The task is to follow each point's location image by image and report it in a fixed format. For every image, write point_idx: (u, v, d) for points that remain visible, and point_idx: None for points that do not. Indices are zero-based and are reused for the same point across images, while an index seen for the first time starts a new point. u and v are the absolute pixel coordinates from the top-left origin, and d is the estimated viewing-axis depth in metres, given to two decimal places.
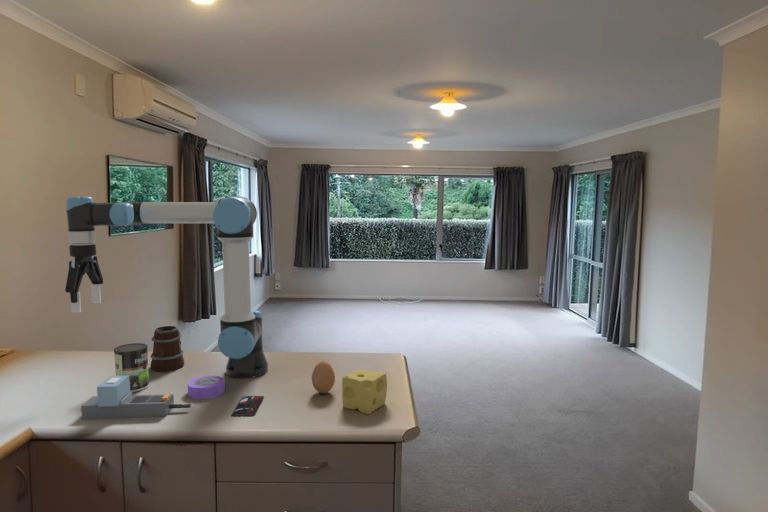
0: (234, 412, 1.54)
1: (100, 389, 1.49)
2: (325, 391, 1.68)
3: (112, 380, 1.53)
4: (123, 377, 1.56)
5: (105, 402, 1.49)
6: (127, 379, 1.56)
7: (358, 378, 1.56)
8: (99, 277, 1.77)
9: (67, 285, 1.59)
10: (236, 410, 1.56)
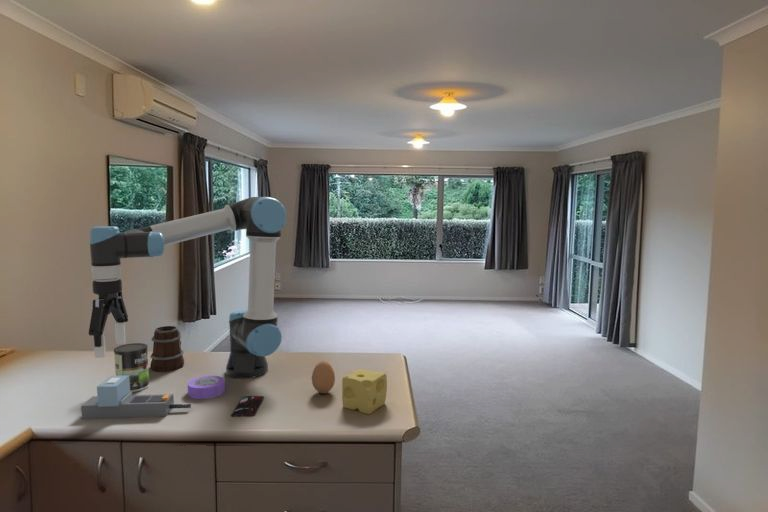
0: (234, 412, 1.54)
1: (100, 389, 1.49)
2: (325, 391, 1.68)
3: (112, 380, 1.53)
4: (123, 377, 1.56)
5: (105, 402, 1.49)
6: (127, 379, 1.56)
7: (358, 378, 1.56)
8: (124, 314, 1.59)
9: (91, 328, 1.41)
10: (236, 410, 1.56)
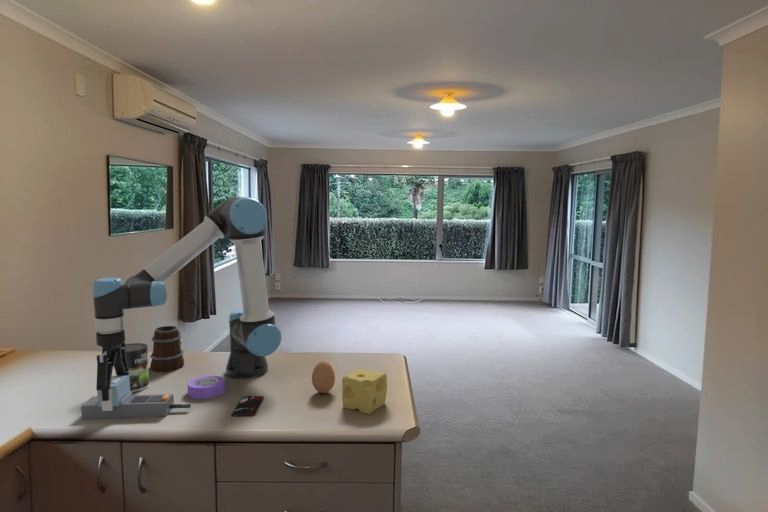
0: (234, 412, 1.54)
1: None
2: (325, 391, 1.68)
3: (112, 380, 1.53)
4: (123, 377, 1.56)
5: None
6: (127, 379, 1.56)
7: (358, 378, 1.56)
8: (125, 367, 1.60)
9: (98, 384, 1.45)
10: (236, 410, 1.56)
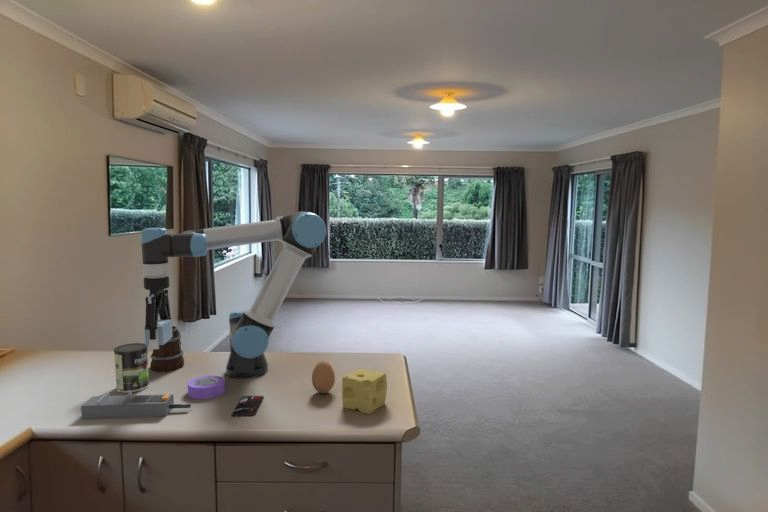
0: (234, 412, 1.54)
1: None
2: (325, 391, 1.68)
3: (157, 322, 1.66)
4: (166, 320, 1.69)
5: None
6: (170, 322, 1.69)
7: (358, 378, 1.56)
8: None
9: (146, 323, 1.58)
10: (236, 410, 1.56)
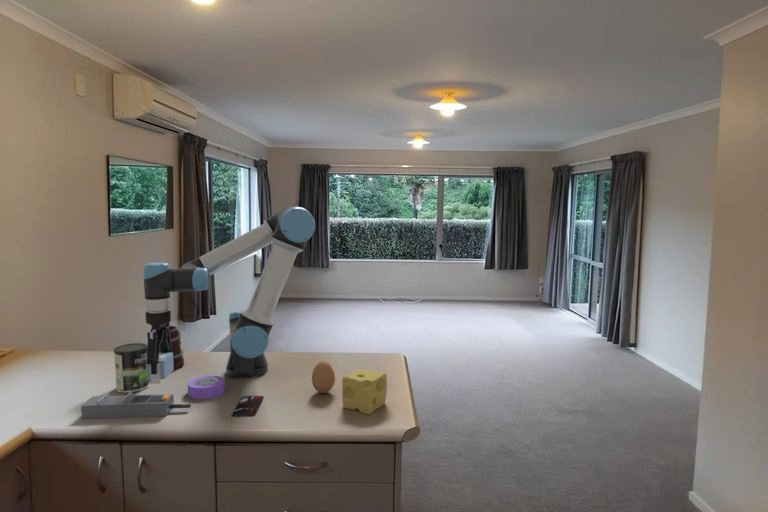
0: (234, 412, 1.54)
1: None
2: (325, 391, 1.68)
3: (159, 356, 1.67)
4: (168, 354, 1.70)
5: None
6: (171, 356, 1.71)
7: (358, 378, 1.56)
8: (169, 345, 1.74)
9: (148, 358, 1.59)
10: (236, 410, 1.56)
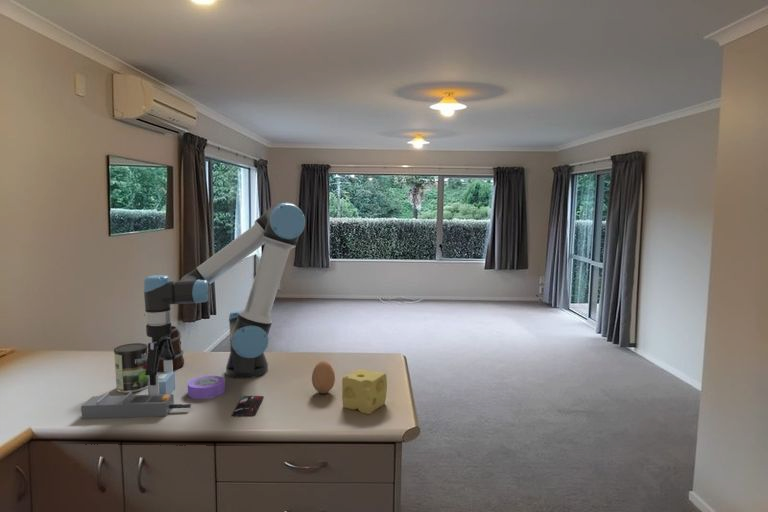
0: (234, 412, 1.54)
1: None
2: (325, 391, 1.68)
3: (160, 376, 1.68)
4: (169, 373, 1.71)
5: None
6: (173, 375, 1.72)
7: (358, 378, 1.56)
8: (171, 352, 1.76)
9: (147, 369, 1.58)
10: (236, 410, 1.56)
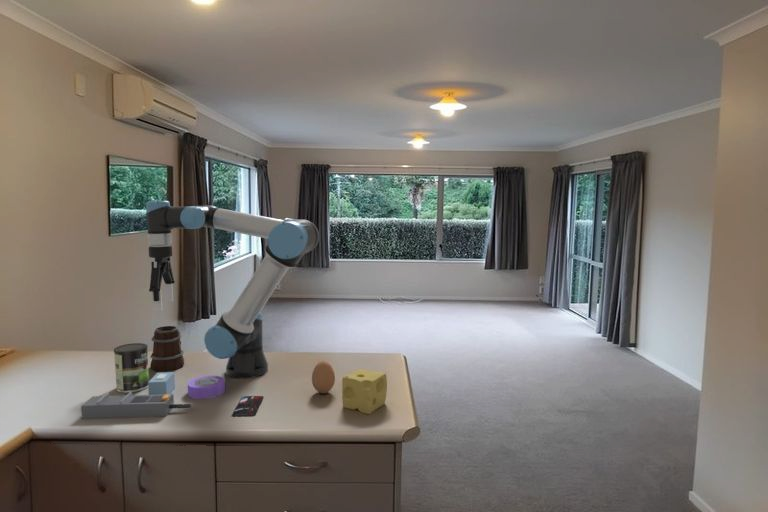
0: (234, 412, 1.54)
1: (151, 384, 1.64)
2: (325, 391, 1.68)
3: (160, 376, 1.68)
4: (169, 373, 1.71)
5: None
6: (173, 375, 1.72)
7: (358, 378, 1.56)
8: (171, 277, 1.87)
9: (151, 284, 1.69)
10: (236, 410, 1.56)
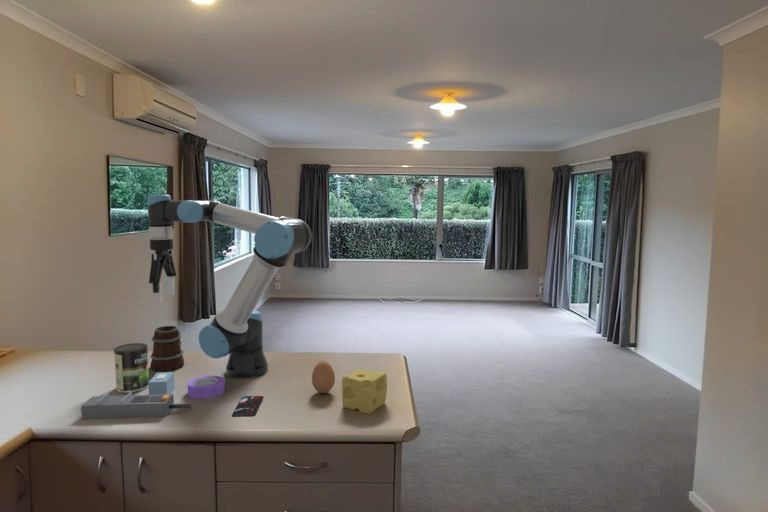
0: (234, 412, 1.54)
1: (151, 384, 1.64)
2: (325, 391, 1.68)
3: (160, 376, 1.68)
4: (169, 373, 1.71)
5: None
6: (172, 375, 1.72)
7: (358, 378, 1.56)
8: None
9: (151, 276, 1.72)
10: (236, 410, 1.56)
